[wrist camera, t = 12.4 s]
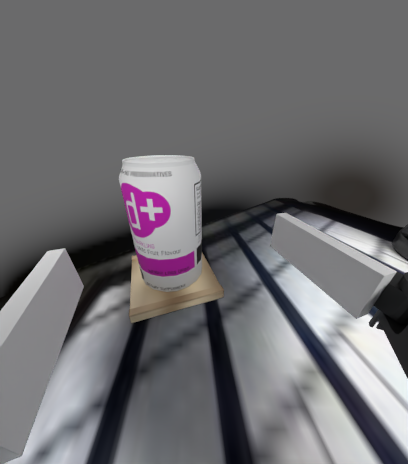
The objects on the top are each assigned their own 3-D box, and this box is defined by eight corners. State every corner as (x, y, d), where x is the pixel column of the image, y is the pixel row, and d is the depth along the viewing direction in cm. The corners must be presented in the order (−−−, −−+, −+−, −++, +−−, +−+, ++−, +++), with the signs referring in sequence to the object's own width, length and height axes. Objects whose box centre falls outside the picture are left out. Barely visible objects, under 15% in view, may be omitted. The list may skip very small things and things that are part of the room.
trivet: (198, 250, 31) (198, 244, 31) (223, 297, 22) (223, 289, 22) (133, 262, 28) (131, 256, 28) (131, 323, 19) (128, 315, 19)
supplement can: (175, 307, 20) (157, 167, 12) (130, 278, 24) (97, 160, 17) (212, 267, 26) (215, 157, 18) (171, 249, 30) (160, 153, 22)
